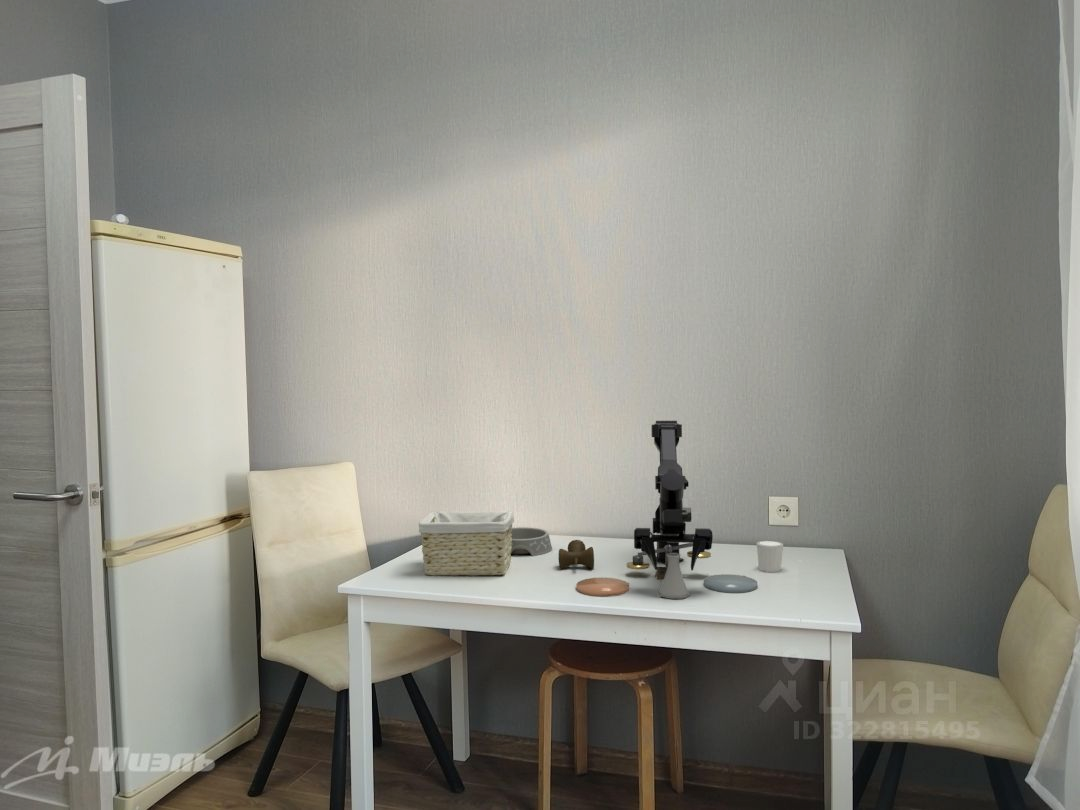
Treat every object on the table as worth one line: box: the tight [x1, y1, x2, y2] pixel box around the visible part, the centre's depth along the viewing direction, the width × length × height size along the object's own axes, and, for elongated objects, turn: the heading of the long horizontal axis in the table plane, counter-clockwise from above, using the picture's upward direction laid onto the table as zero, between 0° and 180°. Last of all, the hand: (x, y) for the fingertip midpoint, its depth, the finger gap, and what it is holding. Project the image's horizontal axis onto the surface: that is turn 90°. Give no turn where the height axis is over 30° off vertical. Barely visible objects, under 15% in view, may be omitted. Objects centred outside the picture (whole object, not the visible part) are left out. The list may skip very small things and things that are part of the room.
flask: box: [658, 552, 690, 600], centre depth 197 cm, size 7×7×10 cm
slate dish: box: [703, 574, 758, 594], centre depth 205 cm, size 13×13×1 cm
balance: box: [626, 543, 712, 581], centre depth 214 cm, size 22×8×9 cm, turn 81°
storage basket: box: [418, 510, 515, 577], centre depth 223 cm, size 24×16×15 cm
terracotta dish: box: [575, 577, 630, 597], centre depth 203 cm, size 13×13×1 cm
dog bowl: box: [511, 526, 553, 557], centre depth 245 cm, size 17×18×5 cm
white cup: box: [756, 540, 784, 573], centre depth 219 cm, size 7×7×7 cm
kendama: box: [558, 539, 595, 570], centre depth 227 cm, size 6×10×20 cm
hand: (674, 569), depth 195 cm, fingers open, 8 cm apart
